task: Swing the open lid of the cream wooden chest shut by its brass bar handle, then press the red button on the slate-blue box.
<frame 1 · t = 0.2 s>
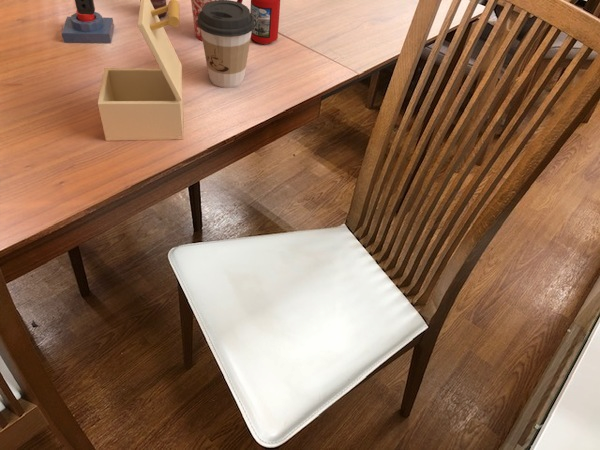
button: (85, 15, 113), point 4 cm above the table, slide at 0.1 cm
button box: (89, 34, 116), on the table
beverage can: (263, 40, 123), on the table
coffee cup: (226, 79, 109), on the table
can: (154, 15, 126), on the table
lid: (175, 43, 86), point 16 cm above the table, hinge at 70.0°
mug: (217, 35, 122), on the table
chest: (146, 121, 96), on the table
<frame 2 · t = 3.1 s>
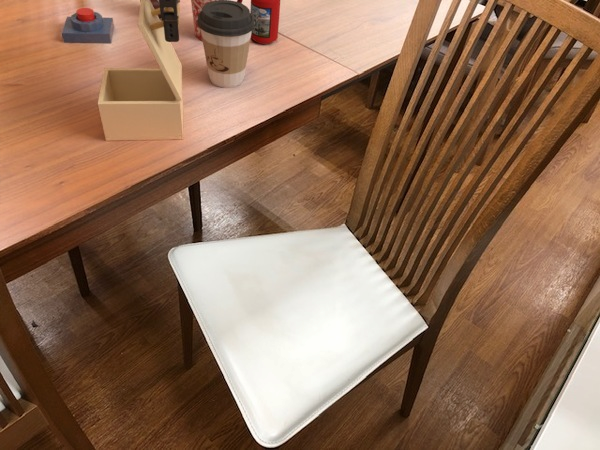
hand: (172, 30, 84), 18 cm above the table, tool pointing down, fingers closed on lid, 6 cm apart
lid: (175, 43, 86), point 16 cm above the table, hinge at 70.0°, touching gripper
everything else where it was.
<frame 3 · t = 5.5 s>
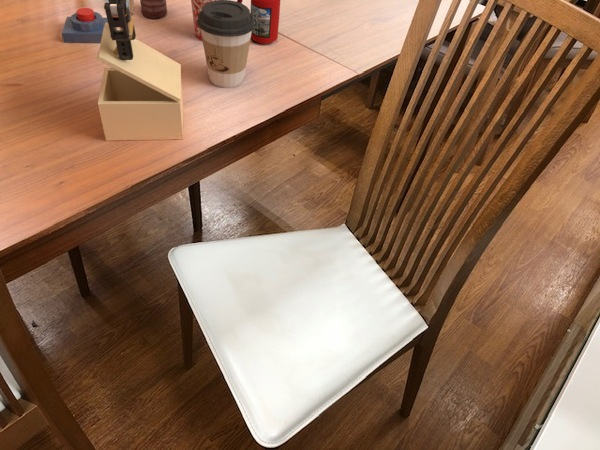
hand: (128, 48, 85), 15 cm above the table, tool pointing down, fingers closed on lid, 6 cm apart
lid: (149, 51, 86), point 14 cm above the table, hinge at 33.5°, touching gripper
everything else where it was.
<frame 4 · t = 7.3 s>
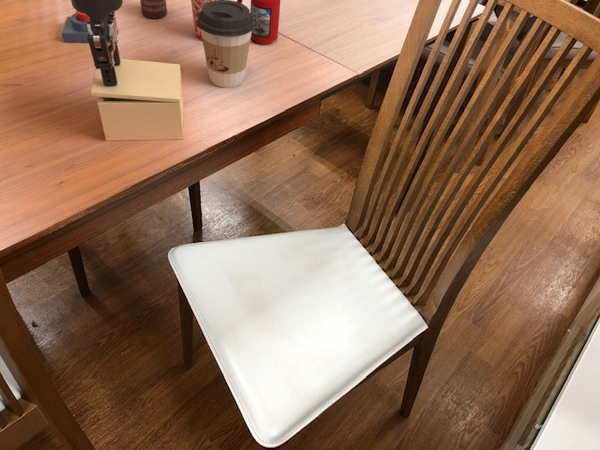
hand: (112, 74, 88), 10 cm above the table, tool pointing down, fingers closed on lid, 6 cm apart
lid: (137, 66, 88), point 11 cm above the table, hinge at 5.6°, touching gripper
everything else where it was.
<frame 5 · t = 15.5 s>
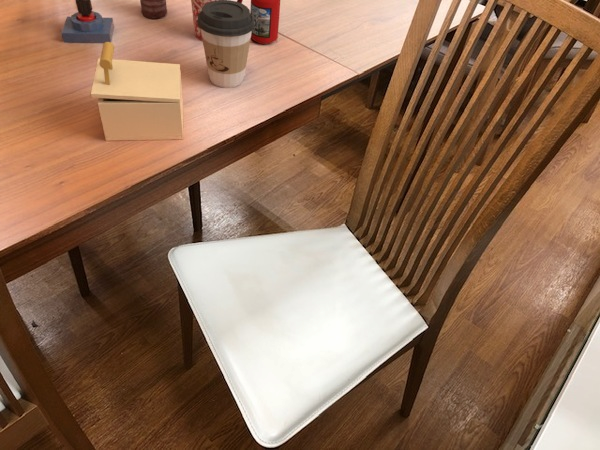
hand: (86, 14, 113), 5 cm above the table, tool pointing down, fingers closed
button: (86, 18, 113), point 4 cm above the table, slide at -0.7 cm, touching gripper
lid: (137, 67, 88), point 11 cm above the table, hinge at 4.5°
everything else where it was.
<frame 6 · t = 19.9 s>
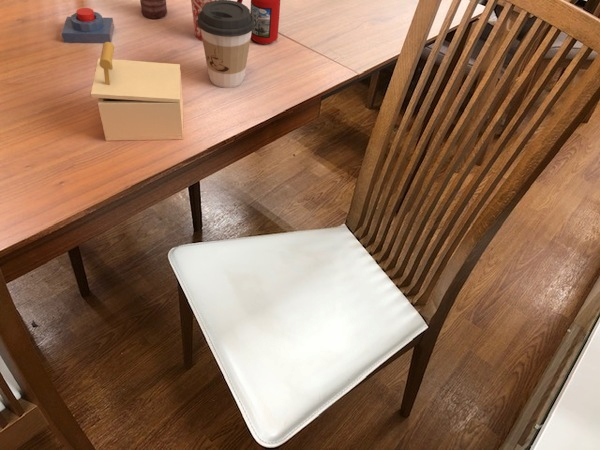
button: (85, 15, 113), point 4 cm above the table, slide at 0.1 cm
everything else where it was.
at the end: lid at +4° (first picture: +70°); button pushed in 1.1 cm at the most during the clip, back to where it started at the end; button slide at 0.1 cm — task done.
